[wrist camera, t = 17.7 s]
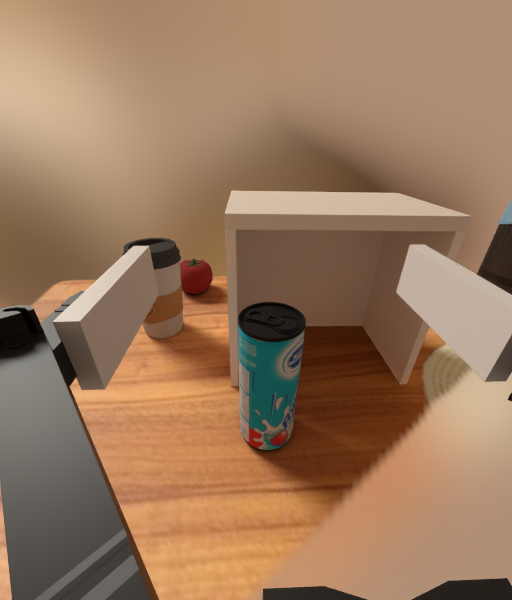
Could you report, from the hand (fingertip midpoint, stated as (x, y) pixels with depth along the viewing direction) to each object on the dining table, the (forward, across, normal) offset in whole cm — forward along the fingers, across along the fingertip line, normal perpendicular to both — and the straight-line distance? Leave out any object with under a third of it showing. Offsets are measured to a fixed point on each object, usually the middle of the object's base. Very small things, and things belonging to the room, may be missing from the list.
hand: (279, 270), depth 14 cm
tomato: (+42, -13, -23) cm, 49 cm away
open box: (+20, +8, -23) cm, 32 cm away
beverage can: (+7, 0, -23) cm, 24 cm away
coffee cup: (+27, -16, -23) cm, 39 cm away
